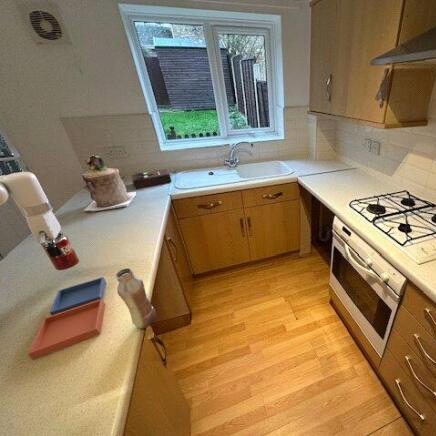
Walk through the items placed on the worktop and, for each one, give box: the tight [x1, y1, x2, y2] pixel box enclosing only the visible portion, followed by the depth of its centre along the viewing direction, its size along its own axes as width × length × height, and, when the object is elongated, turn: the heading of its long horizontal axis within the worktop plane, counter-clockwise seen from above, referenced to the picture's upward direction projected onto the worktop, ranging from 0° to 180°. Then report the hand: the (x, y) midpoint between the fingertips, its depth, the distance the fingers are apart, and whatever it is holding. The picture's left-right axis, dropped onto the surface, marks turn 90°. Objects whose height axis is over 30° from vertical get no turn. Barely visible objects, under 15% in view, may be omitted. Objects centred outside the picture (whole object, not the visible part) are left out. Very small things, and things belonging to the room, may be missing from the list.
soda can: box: [41, 234, 80, 272], centre depth 91 cm, size 7×7×12 cm
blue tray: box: [49, 276, 107, 316], centre depth 84 cm, size 13×11×3 cm
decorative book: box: [130, 168, 173, 190], centre depth 189 cm, size 19×8×30 cm
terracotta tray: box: [27, 298, 106, 360], centre depth 73 cm, size 15×13×3 cm
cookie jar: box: [82, 154, 137, 213], centre depth 150 cm, size 25×25×32 cm
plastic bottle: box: [115, 268, 157, 329], centre depth 70 cm, size 6×7×20 cm
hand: (59, 250), depth 91 cm, fingers closed on soda can, 7 cm apart
